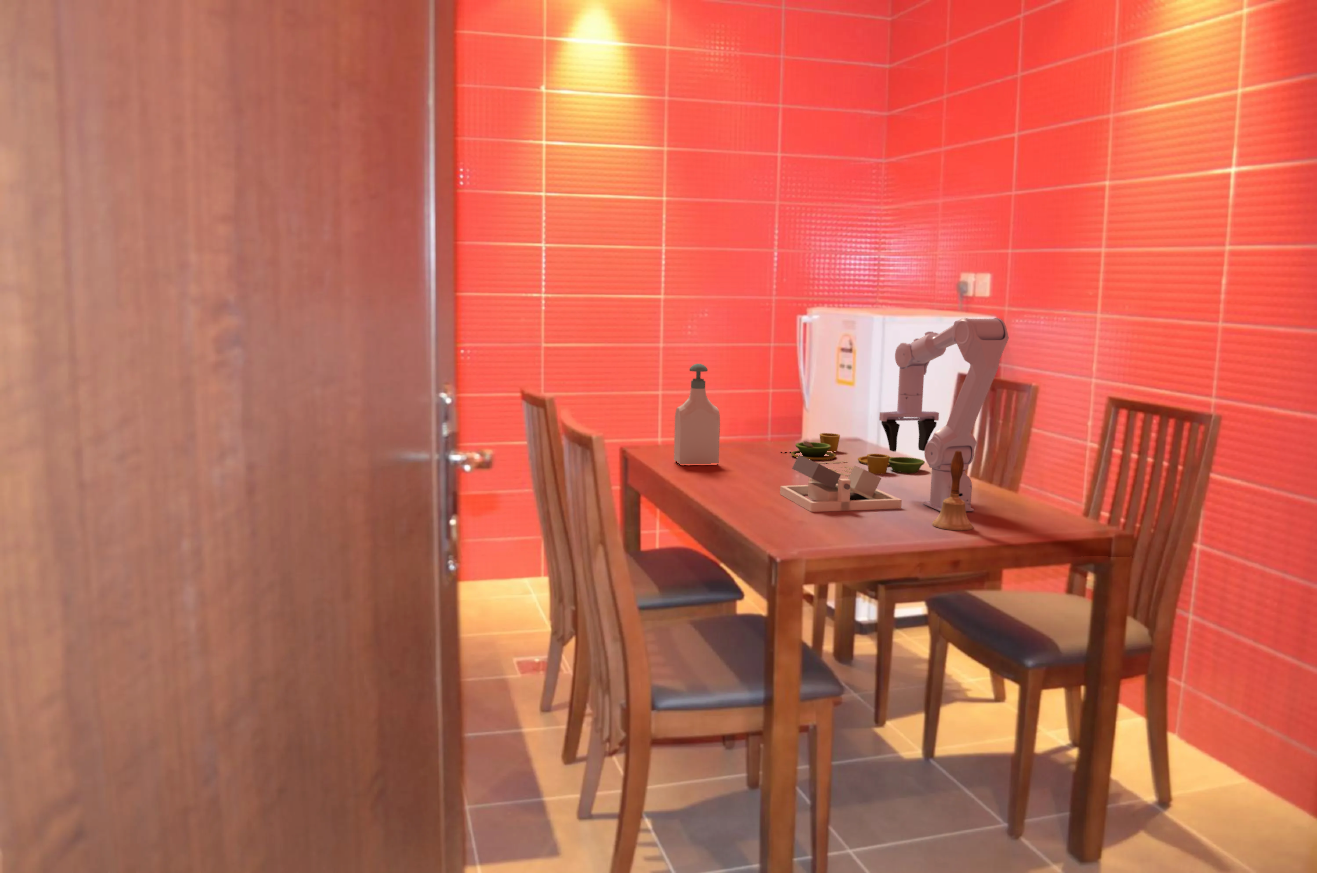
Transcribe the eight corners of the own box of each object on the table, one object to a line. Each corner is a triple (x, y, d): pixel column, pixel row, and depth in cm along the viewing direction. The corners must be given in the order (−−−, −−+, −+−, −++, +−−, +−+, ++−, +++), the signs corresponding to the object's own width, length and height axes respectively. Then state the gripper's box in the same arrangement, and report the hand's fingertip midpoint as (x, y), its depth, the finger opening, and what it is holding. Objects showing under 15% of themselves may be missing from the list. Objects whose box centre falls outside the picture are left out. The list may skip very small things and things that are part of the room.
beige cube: (871, 497, 242) (881, 478, 242) (854, 488, 241) (863, 469, 240) (862, 493, 247) (871, 474, 247) (845, 484, 245) (854, 465, 245)
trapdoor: (881, 512, 238) (888, 498, 238) (813, 479, 233) (820, 464, 233) (855, 499, 252) (861, 486, 252) (790, 467, 247) (797, 454, 247)
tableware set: (775, 453, 311) (776, 432, 310) (858, 450, 320) (859, 429, 319) (843, 479, 273) (844, 455, 272) (935, 475, 282) (937, 451, 281)
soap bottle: (710, 460, 295) (713, 362, 290) (718, 465, 287) (721, 364, 282) (672, 461, 292) (674, 362, 288) (679, 466, 284) (681, 364, 280)
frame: (902, 509, 236) (904, 479, 235) (812, 512, 231) (813, 482, 230) (863, 490, 256) (864, 463, 255) (778, 493, 251) (779, 465, 250)
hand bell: (965, 521, 225) (970, 448, 223) (978, 531, 217) (983, 454, 214) (927, 521, 225) (931, 447, 222) (938, 530, 216) (943, 454, 214)
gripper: (929, 391, 256) (926, 447, 258) (874, 392, 252) (872, 448, 254) (944, 395, 249) (941, 452, 251) (888, 395, 245) (885, 453, 248)
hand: (907, 450), depth 252 cm, fingers open, 7 cm apart
